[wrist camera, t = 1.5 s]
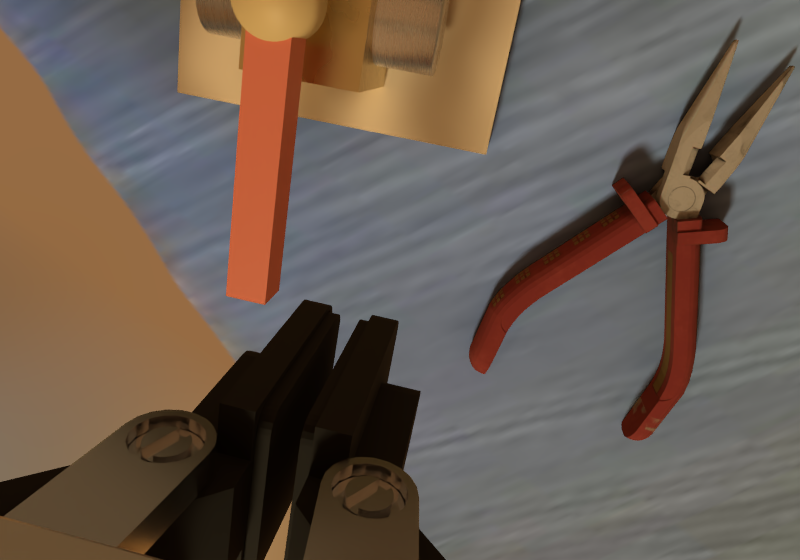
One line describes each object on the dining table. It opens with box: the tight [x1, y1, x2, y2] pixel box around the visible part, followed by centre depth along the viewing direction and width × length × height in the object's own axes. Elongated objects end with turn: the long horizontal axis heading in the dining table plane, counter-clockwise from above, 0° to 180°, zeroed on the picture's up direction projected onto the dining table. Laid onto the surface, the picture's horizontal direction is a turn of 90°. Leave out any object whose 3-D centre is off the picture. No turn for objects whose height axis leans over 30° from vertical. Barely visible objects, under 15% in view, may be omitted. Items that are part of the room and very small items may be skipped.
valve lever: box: [226, 0, 328, 305], centre depth 22 cm, size 12×3×2 cm, turn 170°
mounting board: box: [178, 0, 521, 154], centre depth 29 cm, size 16×10×2 cm, turn 80°
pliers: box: [469, 40, 795, 441], centre depth 30 cm, size 12×20×3 cm, turn 158°
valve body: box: [196, 0, 449, 93], centre depth 25 cm, size 10×6×7 cm, turn 80°
